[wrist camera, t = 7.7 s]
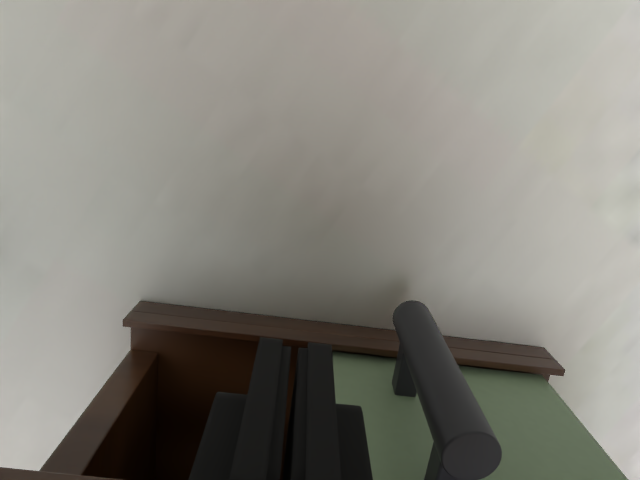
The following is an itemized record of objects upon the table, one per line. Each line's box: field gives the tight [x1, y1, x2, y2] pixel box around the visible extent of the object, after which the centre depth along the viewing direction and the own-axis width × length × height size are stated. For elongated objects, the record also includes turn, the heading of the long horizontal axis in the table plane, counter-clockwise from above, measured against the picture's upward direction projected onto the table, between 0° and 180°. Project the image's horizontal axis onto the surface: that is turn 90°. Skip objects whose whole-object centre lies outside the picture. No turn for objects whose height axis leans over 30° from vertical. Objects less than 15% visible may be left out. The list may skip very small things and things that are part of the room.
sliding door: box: [332, 300, 628, 480], centre depth 14 cm, size 4×9×8 cm, turn 83°
